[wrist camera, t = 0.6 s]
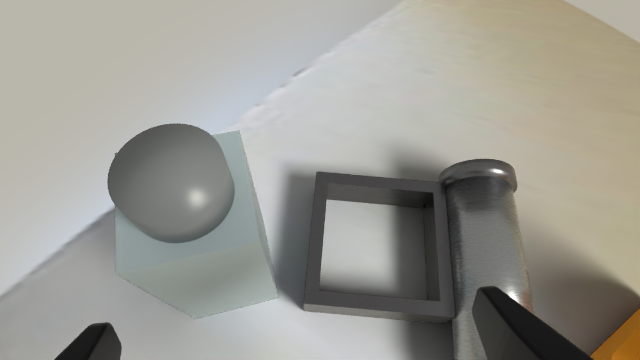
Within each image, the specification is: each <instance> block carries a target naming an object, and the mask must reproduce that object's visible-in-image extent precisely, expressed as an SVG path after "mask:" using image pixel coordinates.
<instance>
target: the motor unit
mask: <svg viewBox="0 0 640 360" xmlns="http://www.w3.org/2000/svg"><path fill="white" fill-rule="evenodd" d="M516 190H517V181H516V175H515V171H514V168H513V167H512V166H511V165H509V164H508V163H506V162H503V161H500V160H494V159H474V160H468V161H463V162H460V163H457V164H454V165H452V166H450V167H448V168H447V169H445V170H444V171H443V172H442V173H441V174H440V176H439V182H429V181H418V180H406V179H395V178H384V177H373V176H361V175H350V174H339V173H328V172H317V174H316V184H315V194H314V204H313V214H312V224H311V234H310V244H309V254H308V264H307V274H306V284H305V294H304V311H310V312H321V313H332V314H343V315H354V316H364V317H375V318H386V319H397V320H408V321H419V322H430V323H440V324H442V323H444V322H447V321H449V320H451V319H452V331H453V344H454V357H455V360H487V357H486V354H485V351H484V348H483V346H482V343H481V340H480V337H479V334H478V331H477V328H476V325H475V322H474V319H473V316H472V306H473V302H474V299H475V296H476V292H477V290H478V288H479V287H484V286H496V287H498V288H499V289H501V290H502V291H503V292H505V293H506V294H507V295H509V296H510V297H511V298H513V299H514V300H515V301H517V302H518V303H519V304H521V305H522V306H523V307H525V308H526V309H527V310H529V311H530V312H531V313H533V314H534V315H535V312H534V307H533V301H532V295H531V290H530V284H529V278H528V273H527V267H526V261H525V256H524V250H523V244H522V239H521V233H520V227H519V222H518V216H517V210H516V205H515V199H514V194H513V193H514V192H515V191H516ZM326 199H330V200H341V201H352V202H363V203H375V204H386V205H397V206H408V207H419V208H423V219H424V239H425V259H426V278H427V298H428V300H417V299H406V298H395V297H384V296H373V295H362V294H351V293H340V292H329V291H319V283H320V271H321V259H322V247H323V234H324V222H325V210H326Z"/></svg>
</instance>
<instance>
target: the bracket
mask: <svg viewBox="0 0 640 360" xmlns="http://www.w3.org/2000/svg"><path fill="white" fill-rule="evenodd" d="M590 357H591V358H593V359H594V360H640V308H639V309H638V310H637V311H636V312H635V313H634V314H633V315H632V316H631V317H630V318H629V319H628V320H627V321H626V322H625V323H624V324H623V325H622V326H621V327H620V328H619V329H618V330H617V331H616V332H615V333H613V334H612V335H611V336H610V337H609V338H608V339H607V340H606V341H605V342H604V343H603V344H602V345H601V346H600V347H599V348H598V349H597V350H596V351H595V352H594V353H593V354H592V355H591V356H590Z"/></svg>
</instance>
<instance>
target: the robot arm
mask: <svg viewBox="0 0 640 360" xmlns="http://www.w3.org/2000/svg"><path fill="white" fill-rule="evenodd" d="M472 316H473V319H474V322H475V325H476V328H477V331H478V334H479V337H480V340H481V343H482V346H483V348H484V351H485V354H486V357H487V360H594V359H593V358H591V357H590V356H589V355H587V354H586V353H585V352H583V351H582V350H581V349H579V348H578V347H577V346H575V345H574V344H573V343H571V342H570V341H569V340H567V339H566V338H565V337H563V336H562V335H561V334H559V333H558V332H557V331H555V330H554V329H553V328H551V327H550V326H549V325H547V324H546V323H545V322H543V321H542V320H541V319H539V318H538V317H537V316H535V315H534V314H533V313H531V312H530V311H529V310H527V309H526V308H525V307H523V306H522V305H521V304H519V303H518V302H517V301H515V300H514V299H513V298H511V297H510V296H509V295H507V294H506V293H505V292H503V291H502V290H501V289H499V288H498V287H496V286H484V287H479V288H478V290H477V292H476V296H475V299H474V302H473V306H472ZM121 349H122V348H121V342H120V340H119V338H118V336H117V334H116V332H115V330H114V328H113V326H112V325H111V324H110V323H107V322H106V323H95V324H92V325H90V326H88V327H87V328H86V329H85V330H84V331H83V332H82V333H81V334H80V335H79V336H78V337H77V338H76V339H75V340H74V341H73V342H72V343H71V344H70V345H69V346H68V347H67V348H66V349H65V350H63V351H62V352H61V353H60V354H59V355H58V356H57V357H56V358H55V359H54V360H120V357H121Z"/></svg>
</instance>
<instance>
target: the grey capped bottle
mask: <svg viewBox="0 0 640 360" xmlns="http://www.w3.org/2000/svg"><path fill="white" fill-rule="evenodd" d="M108 189H109V194H110V196H111V199H112V201H113V202H114V204H115V274H116V275H118V276H120V277H122V278H123V279H125V280H127V281H129V282H130V283H132V284H134V285H136V286H138V287H139V288H141V289H143V290H145V291H146V292H148V293H150V294H152V295H153V296H155V297H157V298H159V299H161V300H162V301H164V302H166V303H168V304H169V305H171V306H173V307H175V308H177V309H178V310H180V311H182V312H184V313H185V314H187V315H189V316H191V317H193V318H194V319H197V318H201V317H205V316H209V315H213V314H217V313H221V312H225V311H229V310H233V309H237V308H241V307H245V306H249V305H253V304H257V303H261V302H265V301H269V300H273V299H277V298H279V297H278V292H277V287H276V282H275V277H274V272H273V267H272V262H271V257H270V252H269V246H268V241H267V236H266V231H265V226H264V222H263V218H262V214H261V210H260V207H259V203H258V199H257V195H256V191H255V188H254V184H253V180H252V176H251V172H250V169H249V165H248V161H247V157H246V154H245V150H244V146H243V142H242V138H241V135H240V131H233V132H228V133H222V134H217V135H210V134H209V133H207V132H206V131H204V130H202V129H200V128H198V127H195V126H192V125H187V124H165V125H160V126H157V127H153V128H150V129H148V130H146V131H143V132H142V133H140V134H138V135H136V136H135V137H133V138H132V139H131V140H130V141H128V142H127V143H126V144H125V145H124V146H123V147H122V148H121V149H120V151H119V152H118V153H115V158H114V160H113V162H112V164H111V167H110V169H109V174H108Z"/></svg>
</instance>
